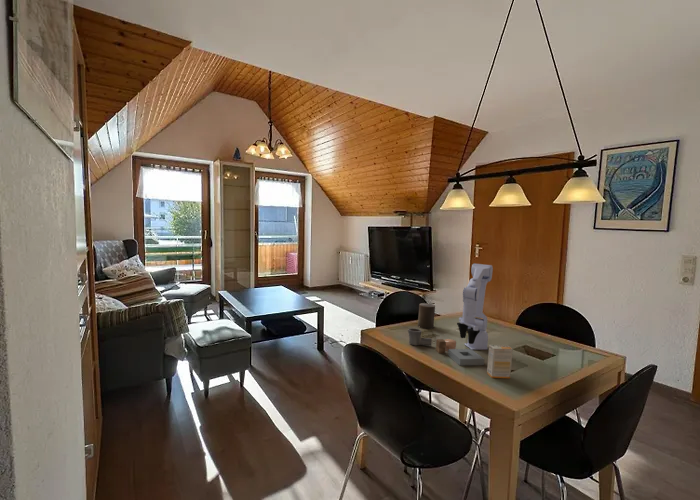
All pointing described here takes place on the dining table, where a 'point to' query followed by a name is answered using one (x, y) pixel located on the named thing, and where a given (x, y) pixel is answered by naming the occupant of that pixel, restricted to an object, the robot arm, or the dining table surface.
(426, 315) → the pillar candle
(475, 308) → the robot arm
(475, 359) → the block
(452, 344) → the peach egg-shaped blob
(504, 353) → the supplement box
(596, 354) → the dining table surface
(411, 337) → the pipe
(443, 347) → the square peg
